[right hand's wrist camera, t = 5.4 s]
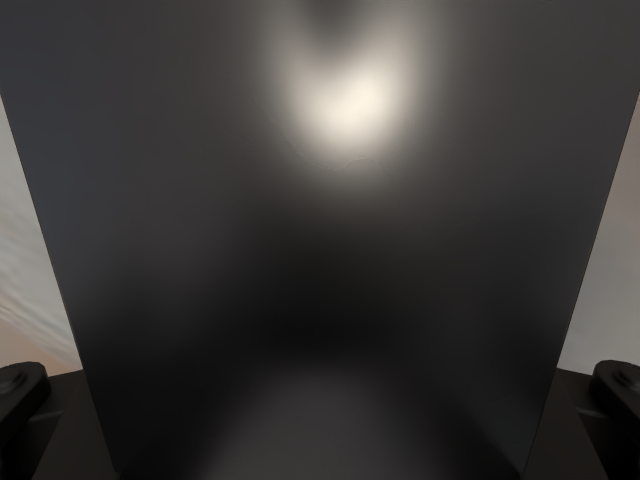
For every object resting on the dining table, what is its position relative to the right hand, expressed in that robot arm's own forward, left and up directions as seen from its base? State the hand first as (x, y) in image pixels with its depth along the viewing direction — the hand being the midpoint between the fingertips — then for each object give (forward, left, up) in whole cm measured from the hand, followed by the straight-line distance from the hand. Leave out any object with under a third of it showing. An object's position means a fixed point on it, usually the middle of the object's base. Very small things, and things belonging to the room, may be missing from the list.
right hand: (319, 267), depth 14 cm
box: (+8, +2, -2) cm, 9 cm away
